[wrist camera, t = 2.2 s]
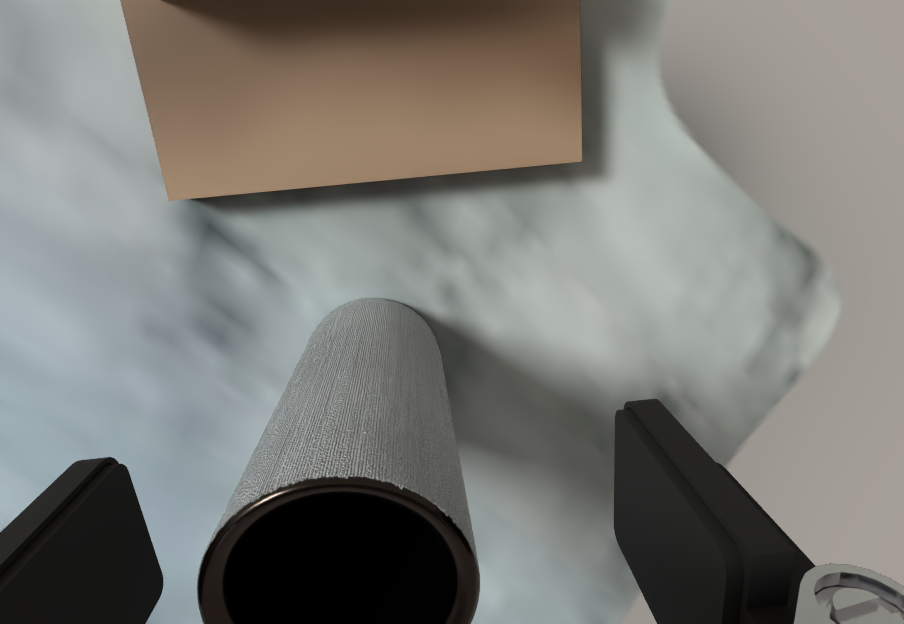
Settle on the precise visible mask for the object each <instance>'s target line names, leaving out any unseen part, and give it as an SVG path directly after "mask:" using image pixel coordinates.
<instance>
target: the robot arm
mask: <svg viewBox="0 0 904 624" xmlns="http://www.w3.org/2000/svg"><path fill="white" fill-rule="evenodd" d="M614 530H615V535H616V539H617V542H618V544H619V547H620V549H621V551H622V553H623V555H624V557H625V559H626V561H627V563H628V565H629V567H630V569H631V571H632V573H633V575H634V577H635V579H636V581H637V583H638V585H639V588H640V590H641V592H642V593H643V596H644V598H645V600H646V602H647V604H648V606H649V608H650V610H651V612H652V614H653V616H654V618H655V620H656V622H657V624H904V586H902V585H901V584H899V583H897V582H896V581H894V580H892V579H891V578H888V577H886V576H883V575H881V574H879V573H876V572H874V571H871V570H869V569H865V568H861V567H857V566H853V565H848V564H825V565H820V566H815V565H814V564H813V563H812V562H811V561H810V559H809V558H808V557H807V556H806V555H805V554H804V553H803V552H802V551H801V550H800V549H799V548H798V547H797V545H796V544H795V543H794V542H793V541H792V540H791V539H790V538H789V537H788V536H787V535H786V533H785V532H784V531H783V530H782V529H781V528H780V527H779V526H778V525H777V524H776V523H775V522H774V521H773V519H772V518H771V517H770V516H769V515H768V514H767V513H766V512H765V511H764V510H763V509H762V507H761V506H760V505H759V504H758V503H757V502H756V501H755V500H754V499H753V498H752V497H751V496H750V495H749V493H748V492H747V491H746V490H745V489H744V488H743V487H742V486H741V485H740V484H739V483H738V481H737V480H735V478H734V477H733V476H732V475H731V474H730V473H729V472H728V471H727V470H726V468H724V467H723V466H722V465H721V464H719V463H716V462H714V460H713V459H712V458H711V457H710V456H709V455H708V454H707V453H706V452H705V451H704V449H703V448H702V447H701V446H700V445H699V444H698V443H697V442H696V441H695V440H694V438H693V437H692V436H691V435H690V434H689V433H688V432H687V431H686V430H685V429H684V427H683V426H682V425H681V424H680V423H679V422H678V421H677V420H676V419H675V418H674V416H673V415H672V414H671V413H670V412H669V411H668V410H667V409H666V408H665V407H664V405H663V404H662V403H661V402H660V401H659V400H657V399H648V400H638V401H629V402H626V403H625V406H624V410H618V411H617V412H616V415H615V473H614ZM162 590H163V575H162V572H161V569H160V566H159V563H158V559H157V556H156V553H155V550H154V547H153V544H152V541H151V538H150V535H149V532H148V529H147V526H146V523H145V520H144V517H143V514H142V511H141V508H140V505H139V502H138V499H137V496H136V493H135V489H134V486H133V483H132V480H131V477H130V474H129V471H128V469H127V467H126V466H125V465H123V464H119V463H118V462H117V461H116V460H115V459H114V458H111V457H107V458H98V459H89V460H80V461H76V462H75V463H73V464H72V465H71V466H70V467H69V468H68V469H67V470H66V471H65V472H64V473H63V474H62V475H60V476H59V477H58V478H57V479H56V480H55V481H54V482H53V483H52V484H51V485H50V486H49V487H48V488H47V489H46V490H45V491H44V492H43V493H42V494H40V495H39V496H38V497H37V498H36V499H35V500H34V501H33V502H32V503H31V504H30V505H29V506H28V507H27V508H26V509H25V510H24V511H23V512H21V513H20V514H19V515H18V516H17V517H16V518H15V519H14V520H13V521H12V522H11V523H10V524H9V525H8V526H7V527H6V528H5V529H4V530H3V531H1V532H0V624H145V623H146V622H147V620H148V618H149V616H150V614H151V613H152V611H153V609H154V607H155V605H156V604H157V602H158V600H159V598H160V596H161V593H162Z"/></svg>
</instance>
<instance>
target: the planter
mask: <svg viewBox="0 0 904 624" xmlns="http://www.w3.org/2000/svg"><path fill="white" fill-rule="evenodd" d="M479 592H480V574H479V566H478V560H477V554H476V548H475V542H474V536H473V531H472V525H471V520H470V514H469V509H468V503H467V498H466V492H465V486H464V481H463V475H462V470H461V464H460V459H459V453H458V448H457V442H456V437H455V431H454V425H453V420H452V414H451V409H450V403H449V398H448V392H447V387H446V381H445V376H444V370H443V364H442V359H441V354H440V349H439V346H438V343H437V341H436V338H435V336H434V334H433V332H432V330H431V328H430V327H429V325H428V324H427V323H426V322H425V320H424V319H423V318H422V317H421V316H420V315H419V314H417V313H416V312H415V311H413V310H412V309H410V308H409V307H407V306H405V305H403V304H401V303H398V302H395V301H392V300H387V299H381V298H366V299H359V300H355V301H352V302H349V303H346V304H344V305H342V306H340V307H338V308H337V309H335V310H334V311H332V312H331V313H330V314H329V315H327V316H326V317H325V318H324V319H323V321H322V322H321V323H320V324H319V326H318V327H317V329H316V330H315V331H314V333H313V334H312V336H311V338H310V340H309V342H308V344H307V346H306V348H305V350H304V352H303V354H302V356H301V358H300V360H299V362H298V364H297V366H296V368H295V370H294V372H293V374H292V376H291V378H290V380H289V382H288V384H287V386H286V388H285V390H284V392H283V394H282V396H281V398H280V400H279V402H278V404H277V406H276V408H275V410H274V412H273V414H272V416H271V419H270V421H269V423H268V425H267V427H266V429H265V431H264V433H263V435H262V437H261V439H260V441H259V443H258V445H257V447H256V449H255V451H254V453H253V455H252V457H251V459H250V461H249V463H248V465H247V467H246V469H245V471H244V473H243V475H242V477H241V479H240V481H239V483H238V485H237V487H236V489H235V491H234V493H233V495H232V497H231V499H230V501H229V503H228V505H227V507H226V509H225V511H224V513H223V515H222V517H221V519H220V521H219V523H218V525H217V527H216V529H215V531H214V533H213V535H212V537H211V540H210V542H209V544H208V546H207V548H206V550H205V553H204V555H203V558H202V561H201V565H200V568H199V574H198V583H197V595H198V604H199V610H200V614H201V617H202V620H203V623H204V624H471V622H472V620H473V617H474V614H475V611H476V608H477V604H478V599H479Z"/></svg>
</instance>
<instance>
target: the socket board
mask: <svg viewBox="0 0 904 624" xmlns="http://www.w3.org/2000/svg"><path fill="white" fill-rule="evenodd" d="M120 1H121V5H122V9H123V13H124V17H125V21H126V26H127V30H128V34H129V38H130V42H131V46H132V50H133V54H134V59H135V63H136V67H137V71H138V75H139V79H140V83H141V87H142V92H143V96H144V100H145V104H146V108H147V112H148V116H149V121H150V125H151V129H152V133H153V137H154V141H155V145H156V149H157V154H158V158H159V162H160V166H161V170H162V174H163V178H164V182H165V187H166V191H167V195H168V199H169V201H173V200H183V199H194V198H204V197H215V196H225V195H236V194H246V193H257V192H267V191H278V190H288V189H299V188H309V187H320V186H330V185H341V184H351V183H362V182H372V181H383V180H393V179H404V178H414V177H425V176H435V175H446V174H456V173H467V172H477V171H488V170H498V169H509V168H519V167H530V166H540V165H551V164H561V163H572V162H582V119H581V51H580V0H120Z"/></svg>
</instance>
